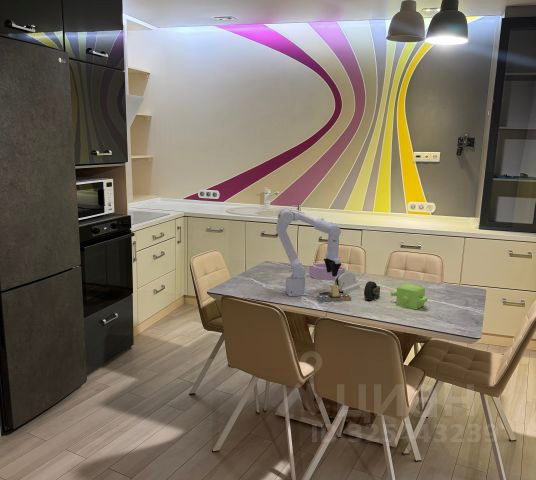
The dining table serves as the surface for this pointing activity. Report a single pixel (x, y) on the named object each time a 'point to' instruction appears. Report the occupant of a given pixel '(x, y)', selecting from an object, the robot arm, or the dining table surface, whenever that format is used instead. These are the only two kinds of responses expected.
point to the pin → (334, 291)
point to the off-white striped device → (346, 282)
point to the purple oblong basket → (323, 272)
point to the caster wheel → (371, 290)
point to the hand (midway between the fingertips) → (331, 274)
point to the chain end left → (327, 298)
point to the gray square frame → (324, 293)
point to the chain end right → (343, 297)
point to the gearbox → (410, 296)
